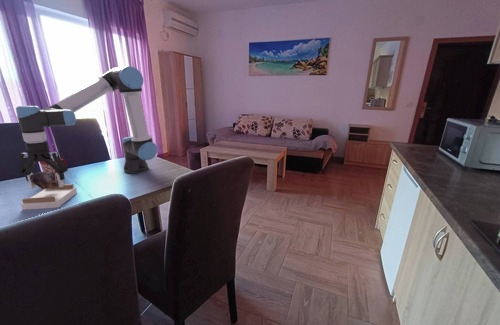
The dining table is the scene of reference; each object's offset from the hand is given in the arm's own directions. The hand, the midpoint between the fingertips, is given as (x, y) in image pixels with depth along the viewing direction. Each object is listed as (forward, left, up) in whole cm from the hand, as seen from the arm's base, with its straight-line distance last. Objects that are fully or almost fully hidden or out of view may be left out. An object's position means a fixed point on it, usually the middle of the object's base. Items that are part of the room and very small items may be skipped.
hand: (48, 186), depth 106 cm
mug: (+13, -29, -7) cm, 33 cm away
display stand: (0, 0, -7) cm, 7 cm away
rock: (+1, 0, -1) cm, 1 cm away
